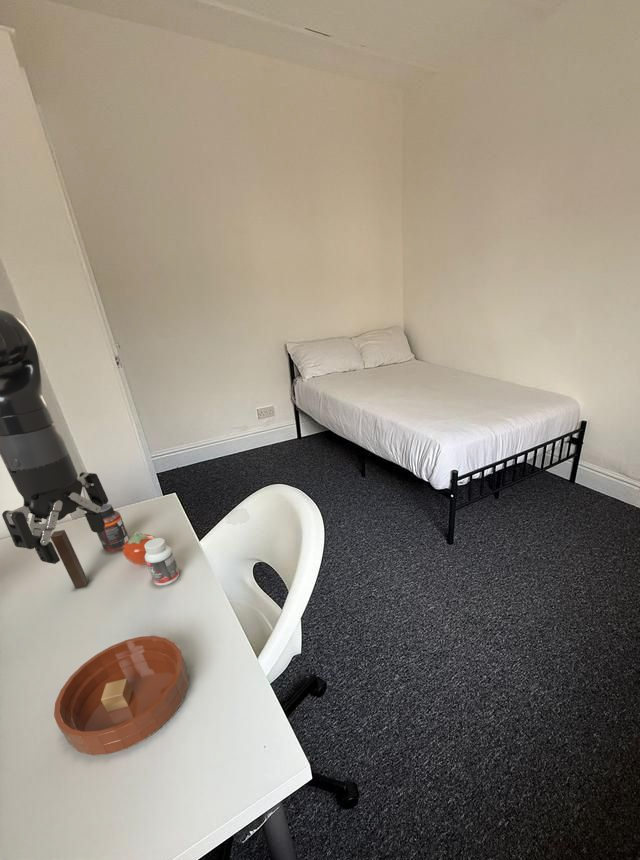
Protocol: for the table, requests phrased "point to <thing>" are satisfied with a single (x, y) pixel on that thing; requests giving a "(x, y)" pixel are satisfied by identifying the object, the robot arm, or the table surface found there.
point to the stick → (69, 558)
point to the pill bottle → (161, 562)
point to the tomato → (136, 548)
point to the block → (116, 695)
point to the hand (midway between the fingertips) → (77, 546)
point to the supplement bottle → (112, 530)
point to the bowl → (149, 704)
